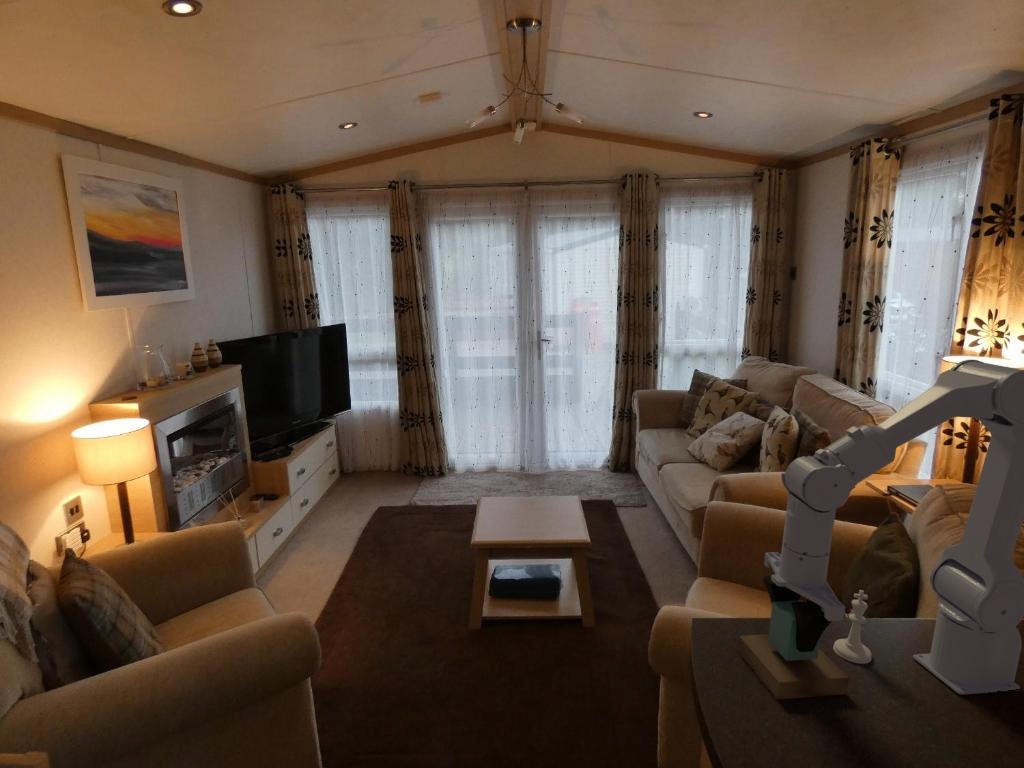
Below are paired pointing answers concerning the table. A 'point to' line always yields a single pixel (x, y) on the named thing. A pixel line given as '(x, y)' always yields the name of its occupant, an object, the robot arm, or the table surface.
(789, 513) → the robot arm
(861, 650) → the chess piece
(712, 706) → the table surface
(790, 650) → the teal block
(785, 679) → the walnut base
